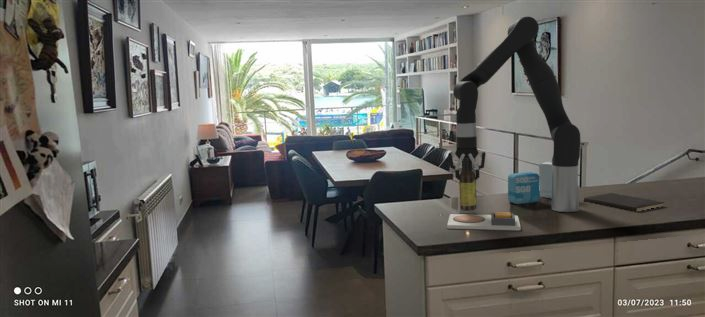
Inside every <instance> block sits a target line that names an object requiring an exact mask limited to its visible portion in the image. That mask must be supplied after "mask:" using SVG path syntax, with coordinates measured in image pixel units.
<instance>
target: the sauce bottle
mask: <svg viewBox="0 0 705 317" xmlns="http://www.w3.org/2000/svg"><path fill="white" fill-rule="evenodd" d="M458 188H459V205H460V206H459V207H460V210H461V211H463V212H465V211H466V212H469V211H475V210H477V205H478V204H477V203H478V202H477V200H478V199H477V180H476V174H475V172H474V171H473V163H472V162H471V161H470V158H463V161H462V162H461V172H459V180H458Z"/></svg>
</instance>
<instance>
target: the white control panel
mask: <svg viewBox="0 0 705 317" xmlns="http://www.w3.org/2000/svg"><path fill="white" fill-rule="evenodd" d="M510 214H511V218H495V212H491V213H490V214H466V213H465V214H461V213H460V214H459V213H454V214H453V213H450V214H449V216H448V221H447V224H446V229H450V230H451V229H455V230H456V229H457V230H490V231H495V230H496V231H521V230H522V228H521V223H520V219H519V216H518V215H515V214H514V213H511V212H510Z"/></svg>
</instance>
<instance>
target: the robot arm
mask: <svg viewBox="0 0 705 317" xmlns="http://www.w3.org/2000/svg"><path fill="white" fill-rule="evenodd" d="M539 30H540V26H539V23H538V20H536V19H535V18H534V17H532V16H523V17H520V18H518V19H517V20H515V21H514V22H512V23H511V24H510V25H509V26H508V29H507V36H506V37H505V38H504V39H503V41H501V42H500V44H498V45H497V46H496V47H495V48H494V49H493V50H491V51H490V52H489V53H488V54H487V55H486V56H484V58H483V59H481V61H479V63H478V64H477V65H475V67H474V68H473V69H471V71H470V72H469V73H467V74H466V75H465V76H464V77H462V78H461V79H460V80H458V82H457V83H455V85H454V87H453V90H452V92H453V93H452V94H453V96H454V98H455V99H457V100H458V101H459V107H458V108H457V110H456V114H455V115H456V117H455V118H456V127H455V137H456V138H455V140H456V141H455V142H456V144H455V145H456V150H455V152H453V151H452V152H448V153H447V156H448V162H449V168H450V169H453V170H454V172H455V174H454V175H455V179H456V180H457V181H459V175H460V169H459V168H460V166H461V165H462V161H463V158H470V161H471V162H472V166H474V168H475V172H474V174H475V177H476V181H477V180H478V179H479V178H480V170H482V169H484V168H485V164H486V163H485V162H486V154H487V153H486V152H485V151H479V150H478V140H477V139H478V135H477V134H478V129H477V118H476V117H477V116H476V110H477V104H478V100H479V99H478V98H479V90H478V88H479V87H480V86H482V85H485V84H486V83H488V82H489V81H490V80H491V79H492V78H493V77H494V76H495V75H496V73H498V71H499V70H501V68H502V67H503V66H504V65H505V64H506V62H507V61H509V59H510V58H512V57H513V55H514V54H515V53H516V55H517V56H518V59H519V62H520V63H521V66H522V68H523V70H524V73H525V75H526V78H527V82H528V83H529V86H530V88H531V91H532V93H533V95H534V97H535V99H536V101H537V104H538V106H539V107H540V109H541V111H542V112H543V115H544V117H545V120H546V122H547V126H548V129H549V134H550V136H551V140H552V141H553V155H552V157H551V162H552V198H551V211H552V210H553V211H555V212H560V213H561V212H563V213H572V212H579V211H580V209H579V208H580V186H579V161H580V154H581V132H580V130H579V128H578V127H577V126H576V125H575V124H573V123H572V122H571V120H570V119H569V115H568V114H567V112H566V110H565V107H564V104H563V99H562V98H563V97H562V93H561V90H560V85H559V83H558V81H557V78H556V76H555V73H554V71H553V70H552V69H553V68H551V67H550V66H549V64H548V63H547V62H546V61H545V60H544V58H542V56H541V55H540V54H539V52H538V50H537V48H536V46H535V42H534V39H535V38H536V37H537V36H538V33H539ZM455 156H456V157H457V159H458V161H457V163H456V165H455V164H454V160H453V159H454V158H455ZM478 156H479V158H481V160H480V164H478V162H477V159H476V158H477V157H478Z"/></svg>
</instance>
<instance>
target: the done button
mask: <svg viewBox="0 0 705 317" xmlns="http://www.w3.org/2000/svg"><path fill="white" fill-rule="evenodd" d="M494 213H495V218H511V214H512V213H511V212H510V211H495V212H494ZM510 213H511V214H510Z"/></svg>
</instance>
